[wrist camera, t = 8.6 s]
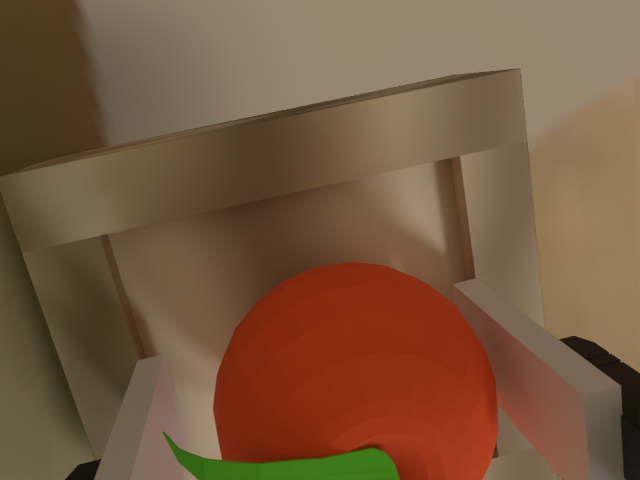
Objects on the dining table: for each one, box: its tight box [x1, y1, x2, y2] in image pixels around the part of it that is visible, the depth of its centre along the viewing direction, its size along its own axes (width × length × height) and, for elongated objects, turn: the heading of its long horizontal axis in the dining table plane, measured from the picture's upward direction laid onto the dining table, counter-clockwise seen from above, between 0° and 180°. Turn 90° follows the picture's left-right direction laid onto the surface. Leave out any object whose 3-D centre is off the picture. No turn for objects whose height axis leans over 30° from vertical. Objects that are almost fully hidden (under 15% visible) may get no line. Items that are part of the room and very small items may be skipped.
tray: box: [0, 69, 559, 480], centre depth 19 cm, size 14×14×5 cm
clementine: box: [162, 262, 498, 480], centre depth 14 cm, size 8×7×7 cm
